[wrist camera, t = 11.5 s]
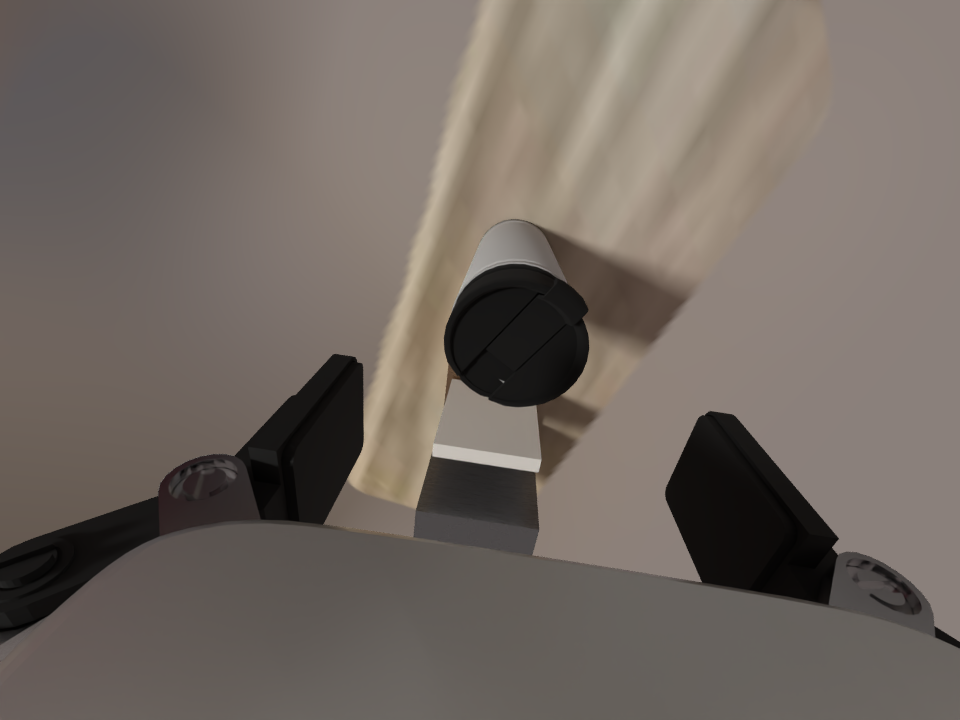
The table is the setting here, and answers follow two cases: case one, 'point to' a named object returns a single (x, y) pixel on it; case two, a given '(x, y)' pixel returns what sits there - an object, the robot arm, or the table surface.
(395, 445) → the table surface
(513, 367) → the travel mug
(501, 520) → the grey bracket
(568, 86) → the table surface
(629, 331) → the table surface
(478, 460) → the white flat slab
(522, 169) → the table surface
